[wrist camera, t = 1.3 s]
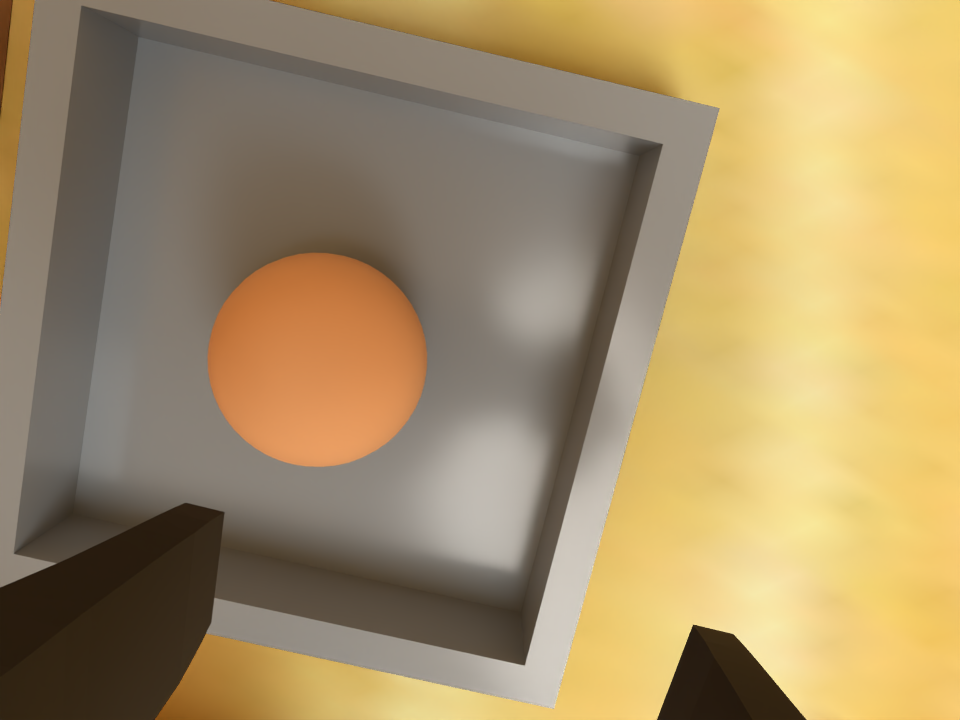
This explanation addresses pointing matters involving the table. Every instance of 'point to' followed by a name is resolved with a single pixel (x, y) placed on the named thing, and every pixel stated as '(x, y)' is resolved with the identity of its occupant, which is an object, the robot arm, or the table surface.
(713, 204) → the table surface
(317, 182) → the dish
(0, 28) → the tray
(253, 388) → the ball
